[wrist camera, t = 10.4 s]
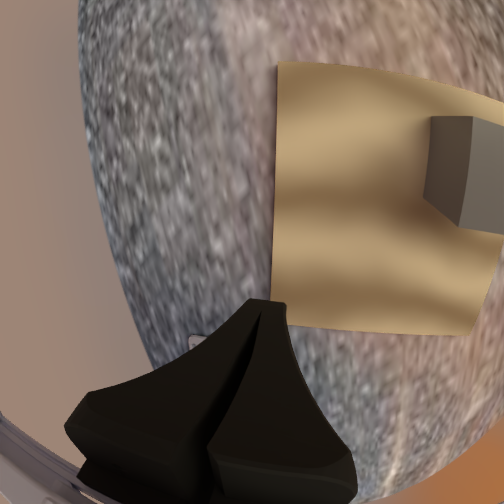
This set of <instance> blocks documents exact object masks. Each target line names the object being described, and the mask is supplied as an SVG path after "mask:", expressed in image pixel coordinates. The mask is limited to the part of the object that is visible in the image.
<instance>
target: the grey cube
mask: <svg viewBox="0 0 504 504" xmlns="http://www.w3.org/2000/svg"><path fill="white" fill-rule="evenodd" d="M423 198H424V199H425V200H426V201H428V202H429V203H430V204H431V205H433V206H434V207H435V208H436V209H437V210H439V211H440V212H441V213H442V214H443V215H445V216H446V217H447V218H448V219H449V220H450V221H452V222H453V223H454V224H455V225H456V226H457V227H459V228H465V229H472V230H478V231H484V232H489V233H495V234H501V235H504V126H501V125H498V124H496V123H493V122H490V121H487V120H484V119H481V118H477V117H474V116H431V129H430V142H429V153H428V162H427V171H426V179H425V186H424V193H423Z"/></svg>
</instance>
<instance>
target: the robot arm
mask: <svg viewBox="0 0 504 504" xmlns="http://www.w3.org/2000/svg"><path fill="white" fill-rule="evenodd" d="M286 311H287V305H286V304H285V303H284V302H276V301H268V300H260V299H252V298H250V299H248V300H247V301H246V302H245V303H244V304H243V305H242V306H241V307H240V308H239V309H238V310H237V311H236V312H235V313H234V314H233V315H232V316H231V317H230V318H229V319H228V320H227V321H226V322H225V323H224V324H222V325H221V326H220V327H219V328H218V329H217V330H216V331H215V332H213V333H212V334H211V335H210V336H208V337H203V336H198V335H191V336H190V337H189V339H188V341H189V348H190V351H188V352H187V353H185V354H183V355H182V356H180V357H179V358H177V359H175V360H173V361H172V362H170V363H168V364H166V365H164V366H162V367H160V368H158V369H156V370H154V371H152V372H150V373H147V374H145V375H143V376H140V377H138V378H135V379H132V380H130V381H127V382H124V383H121V384H118V385H115V386H111V387H107V388H103V389H100V390H96V391H91V392H88V393H87V394H86V396H85V397H84V398H83V399H82V401H81V402H80V403H79V404H78V406H77V407H76V408H75V410H74V411H73V413H72V414H71V416H70V417H69V418H68V420H67V422H66V423H65V424H64V428H65V431H66V434H67V435H68V437H69V438H70V440H71V441H72V442H73V443H74V445H75V446H76V447H77V448H78V449H79V450H80V452H81V453H82V454H83V455H84V456H85V457H86V458H87V460H86V461H85V463H84V464H83V466H82V468H81V469H80V468H78V467H76V466H75V465H73V464H71V463H69V462H68V461H66V460H64V459H63V458H61V457H60V456H58V455H56V454H55V453H53V452H51V451H50V450H49V449H47V448H46V447H44V446H43V445H41V444H39V443H38V442H37V441H35V440H34V439H33V438H31V437H30V436H28V435H27V434H25V433H24V432H23V431H21V430H20V429H19V428H18V427H16V426H15V425H14V424H12V423H11V422H10V421H9V420H7V419H6V418H5V417H4V416H3V415H2V413H1V412H0V493H1V494H2V495H3V496H4V497H5V499H6V500H7V501H9V503H10V504H97V503H95V502H93V501H92V500H90V499H88V498H87V497H85V496H84V495H82V494H81V493H80V491H82V492H84V493H85V494H87V495H89V496H91V497H92V498H95V499H96V500H98V501H100V502H102V503H104V504H349V503H350V502H351V501H352V500H353V499H354V498H355V496H356V494H357V492H358V483H357V474H356V469H355V465H354V461H353V457H352V454H351V451H350V450H349V448H348V447H347V446H346V445H345V444H344V442H343V441H342V440H341V439H340V437H339V436H338V435H337V433H336V432H335V431H334V429H333V428H332V426H331V425H330V424H329V422H328V421H327V419H326V418H325V416H324V415H323V413H322V411H321V410H320V408H319V406H318V405H317V403H316V401H315V399H314V398H313V396H312V394H311V392H310V390H309V388H308V386H307V384H306V382H305V380H304V378H303V375H302V373H301V371H300V368H299V365H298V363H297V360H296V357H295V354H294V351H293V348H292V344H291V340H290V336H289V332H288V326H287V319H286ZM194 344H195V345H194ZM79 490H80V491H79ZM499 504H504V501H503V502H501V503H499Z"/></svg>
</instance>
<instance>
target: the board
mask: <svg viewBox="0 0 504 504" xmlns="http://www.w3.org/2000/svg"><path fill="white" fill-rule="evenodd" d="M431 116H474V117H477V118H481V119H484V120H487V121H490V122H493V123H496V124H498V125H501V126H504V103H502V102H499V101H497V100H494V99H491V98H488V97H486V96H483V95H480V94H477V93H474V92H471V91H468V90H464V89H461V88H458V87H454V86H451V85H447V84H444V83H440V82H436V81H432V80H428V79H424V78H419V77H415V76H410V75H405V74H400V73H395V72H389V71H383V70H377V69H370V68H363V67H355V66H347V65H337V64H325V63H310V62H282V61H278V86H277V137H276V174H275V204H274V230H273V254H272V276H271V296H270V301H276V302H284V303H285V304H286V305H287V311H286V319H287V324H288V325H296V326H306V327H316V328H326V329H337V330H349V331H362V332H377V333H394V334H416V335H455V336H469V335H470V333H471V331H472V329H473V326H474V324H475V322H476V319H477V317H478V315H479V312H480V310H481V307H482V305H483V302H484V300H485V297H486V294H487V292H488V289H489V286H490V283H491V280H492V277H493V274H494V271H495V268H496V265H497V262H498V259H499V255H500V252H501V248H502V245H503V241H504V235H501V234H495V233H489V232H484V231H478V230H472V229H465V228H459V227H457V226H456V225H455V224H454V223H453V222H452V221H450V220H449V219H448V218H447V217H446V216H445V215H443V214H442V213H441V212H440V211H439V210H437V209H436V208H435V207H434V206H433V205H431V204H430V203H429V202H428V201H426V200H425V199H424V198H423V193H424V186H425V179H426V171H427V162H428V153H429V142H430V129H431Z"/></svg>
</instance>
